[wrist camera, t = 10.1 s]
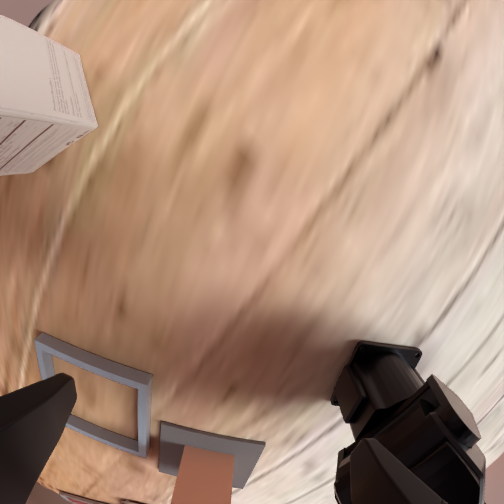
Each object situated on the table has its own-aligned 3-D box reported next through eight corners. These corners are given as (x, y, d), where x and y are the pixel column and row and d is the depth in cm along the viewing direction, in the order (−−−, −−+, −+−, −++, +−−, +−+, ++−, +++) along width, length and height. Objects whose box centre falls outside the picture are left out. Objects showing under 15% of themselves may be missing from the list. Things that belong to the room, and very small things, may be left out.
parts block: (234, 454, 24) (228, 529, 15) (225, 476, 25) (219, 542, 17) (184, 444, 24) (167, 517, 15) (181, 467, 25) (166, 532, 16)
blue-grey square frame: (152, 374, 22) (147, 385, 21) (149, 448, 25) (146, 458, 24) (42, 332, 22) (34, 339, 20) (58, 411, 24) (52, 419, 23)
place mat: (265, 442, 24) (265, 445, 24) (242, 486, 26) (242, 488, 26) (162, 420, 24) (161, 423, 23) (159, 468, 26) (158, 471, 26)
